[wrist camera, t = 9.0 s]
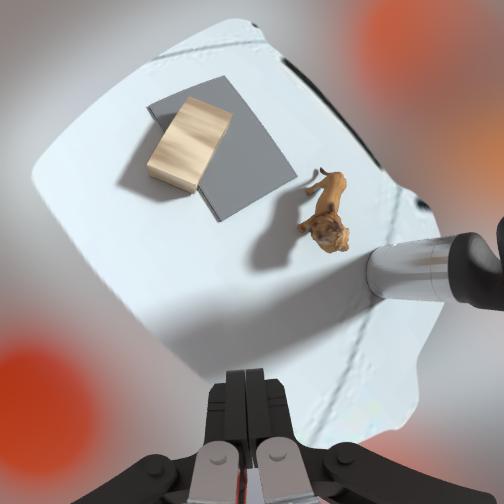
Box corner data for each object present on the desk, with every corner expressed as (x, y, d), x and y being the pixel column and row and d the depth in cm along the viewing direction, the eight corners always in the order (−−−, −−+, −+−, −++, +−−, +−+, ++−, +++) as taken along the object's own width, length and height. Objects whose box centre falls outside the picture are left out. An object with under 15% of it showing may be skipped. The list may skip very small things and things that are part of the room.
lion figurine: (323, 259, 41) (358, 255, 33) (292, 253, 40) (323, 247, 31) (331, 173, 43) (363, 153, 35) (303, 163, 42) (332, 140, 33)
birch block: (149, 175, 35) (187, 111, 37) (194, 194, 36) (227, 127, 38) (146, 164, 31) (188, 96, 33) (196, 185, 33) (233, 114, 35)
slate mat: (223, 76, 40) (224, 75, 39) (296, 177, 41) (297, 176, 41) (149, 106, 36) (149, 105, 35) (221, 221, 37) (221, 221, 37)
